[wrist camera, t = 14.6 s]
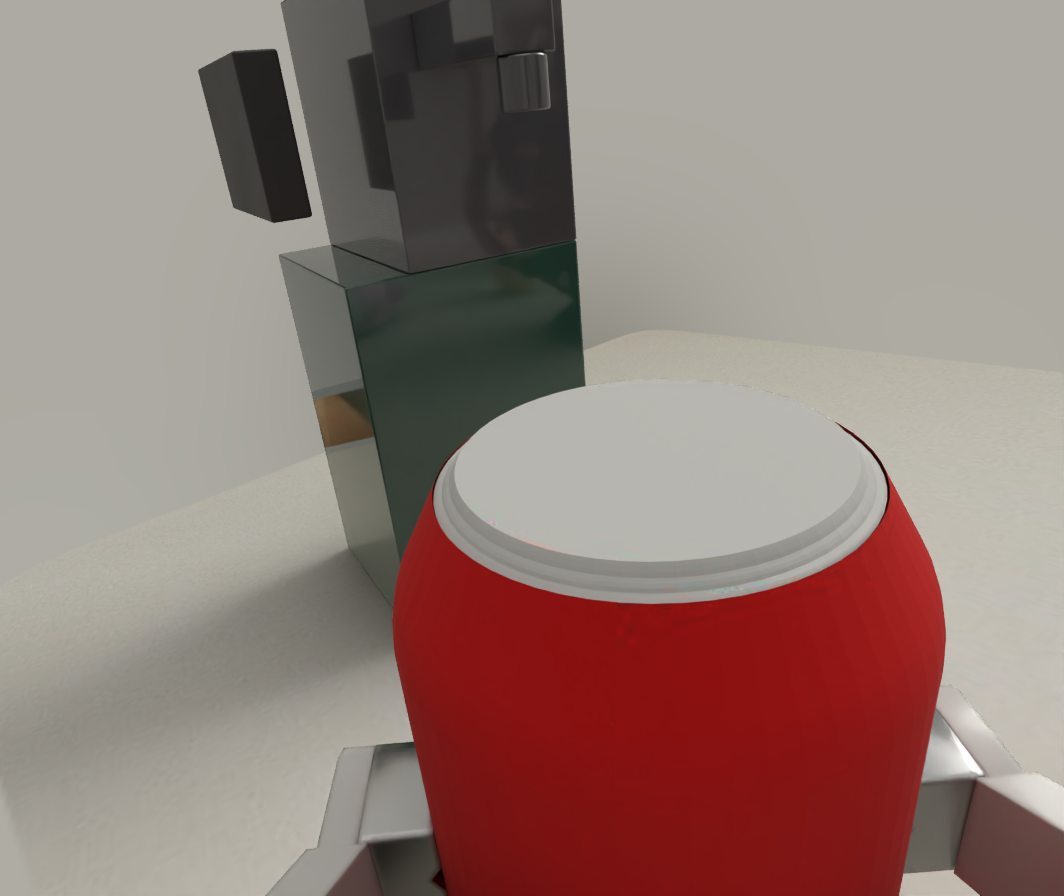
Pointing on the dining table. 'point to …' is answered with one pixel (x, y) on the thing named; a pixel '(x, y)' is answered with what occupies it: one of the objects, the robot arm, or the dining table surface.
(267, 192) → the plate
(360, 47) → the dispenser
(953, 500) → the dining table surface
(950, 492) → the dining table surface
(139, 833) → the dining table surface
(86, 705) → the dining table surface
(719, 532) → the beverage can
